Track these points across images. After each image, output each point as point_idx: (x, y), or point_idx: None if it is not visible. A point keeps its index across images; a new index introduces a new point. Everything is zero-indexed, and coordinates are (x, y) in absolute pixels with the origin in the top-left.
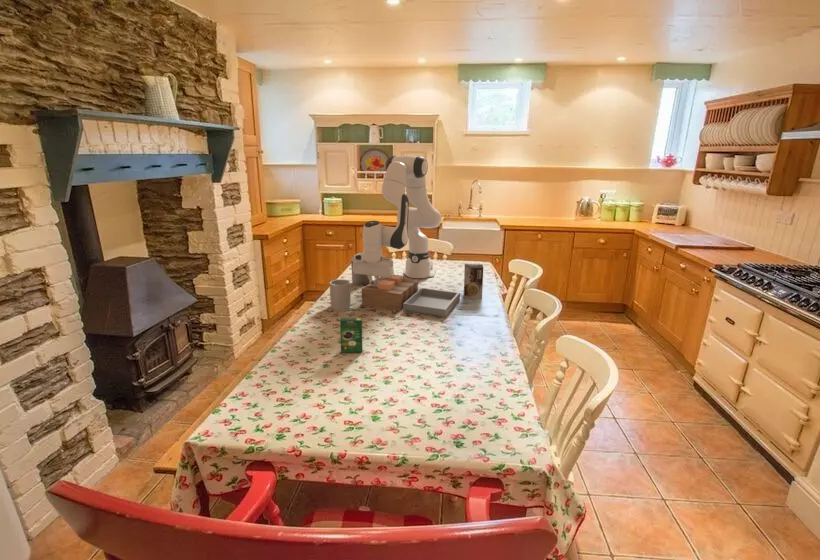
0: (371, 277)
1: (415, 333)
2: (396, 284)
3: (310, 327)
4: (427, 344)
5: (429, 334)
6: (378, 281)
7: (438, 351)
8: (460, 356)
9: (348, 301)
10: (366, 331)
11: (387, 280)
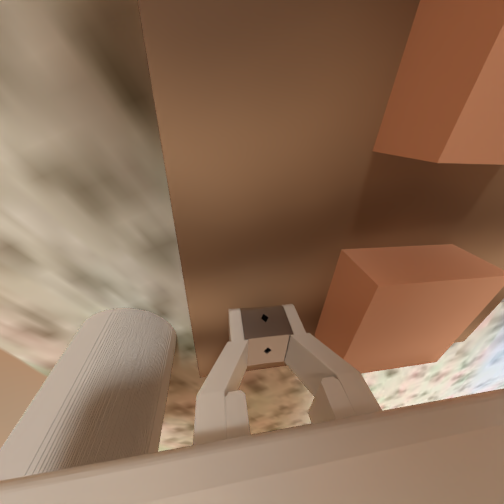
0: (232, 372)
1: (419, 364)
2: (485, 184)
3: (173, 433)
4: (435, 380)
5: (449, 356)
6: (247, 150)
7: (448, 386)
8: (478, 382)
9: (170, 368)
10: (309, 397)
11: (433, 282)
